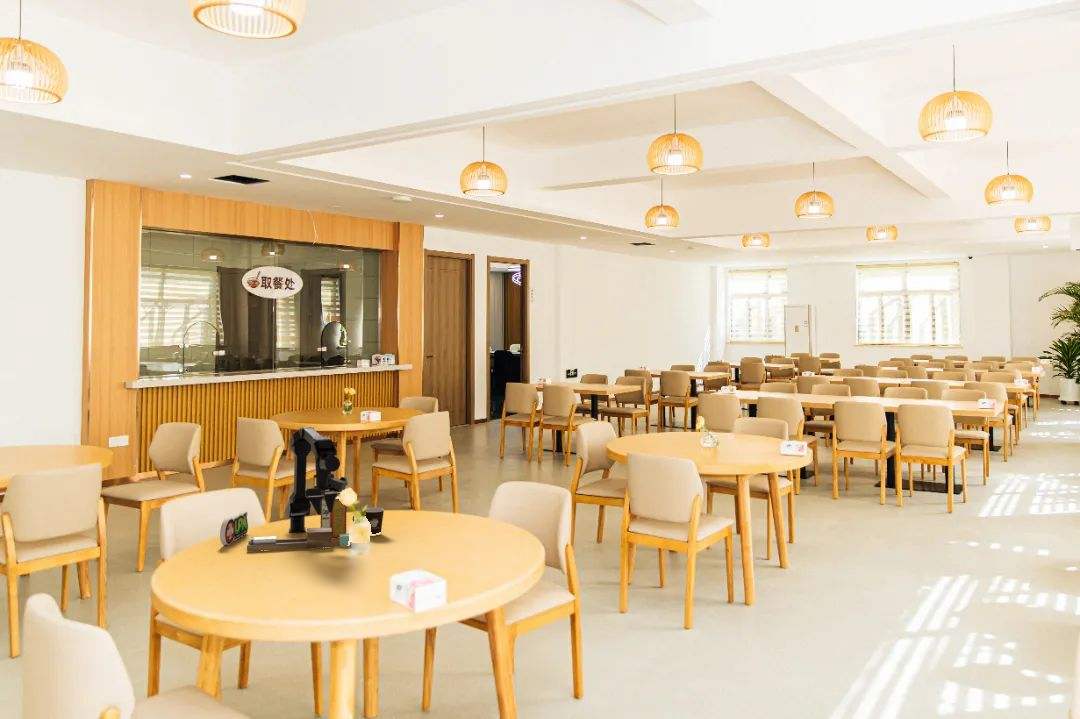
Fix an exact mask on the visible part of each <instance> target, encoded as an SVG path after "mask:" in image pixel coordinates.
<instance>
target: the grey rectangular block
mask: <svg viewBox="0 0 1080 719" xmlns="http://www.w3.org/2000/svg"><path fill="white" fill-rule="evenodd" d="M277 539H278V538H277V536H274V535H273V536H256V537H255V536H252V537H250V540H249V541H250V545H254V544H273V543H276V541H277Z"/></svg>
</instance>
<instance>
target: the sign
mask: <svg viewBox="0 0 1080 719" xmlns="http://www.w3.org/2000/svg"><path fill="white" fill-rule="evenodd" d="M248 523H249V522H248V511H241V512H239V513H238V514H235V515H233V516H231V517H230V518H229V517H226V518H224V520H223V521H222V523H221V526H220V530H219V540H220V543H221V544H222V545H223V546H230V545H232V544H233V542H236V541H237V539H238V540H239V539H241V538H242V537H244V536H246V535H247V534H248V531H249V524H248ZM245 534H246V535H245ZM243 535H244V536H243ZM240 537H241V538H240ZM231 543H232V544H231ZM229 544H230V545H229Z"/></svg>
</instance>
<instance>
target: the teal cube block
mask: <svg viewBox="0 0 1080 719" xmlns="http://www.w3.org/2000/svg"><path fill="white" fill-rule="evenodd" d="M338 541H339V544H340V545H339V547H340V546H344V547H348V546H347V545H348V541H349V533H346V534H340V538H339V540H338Z"/></svg>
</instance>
